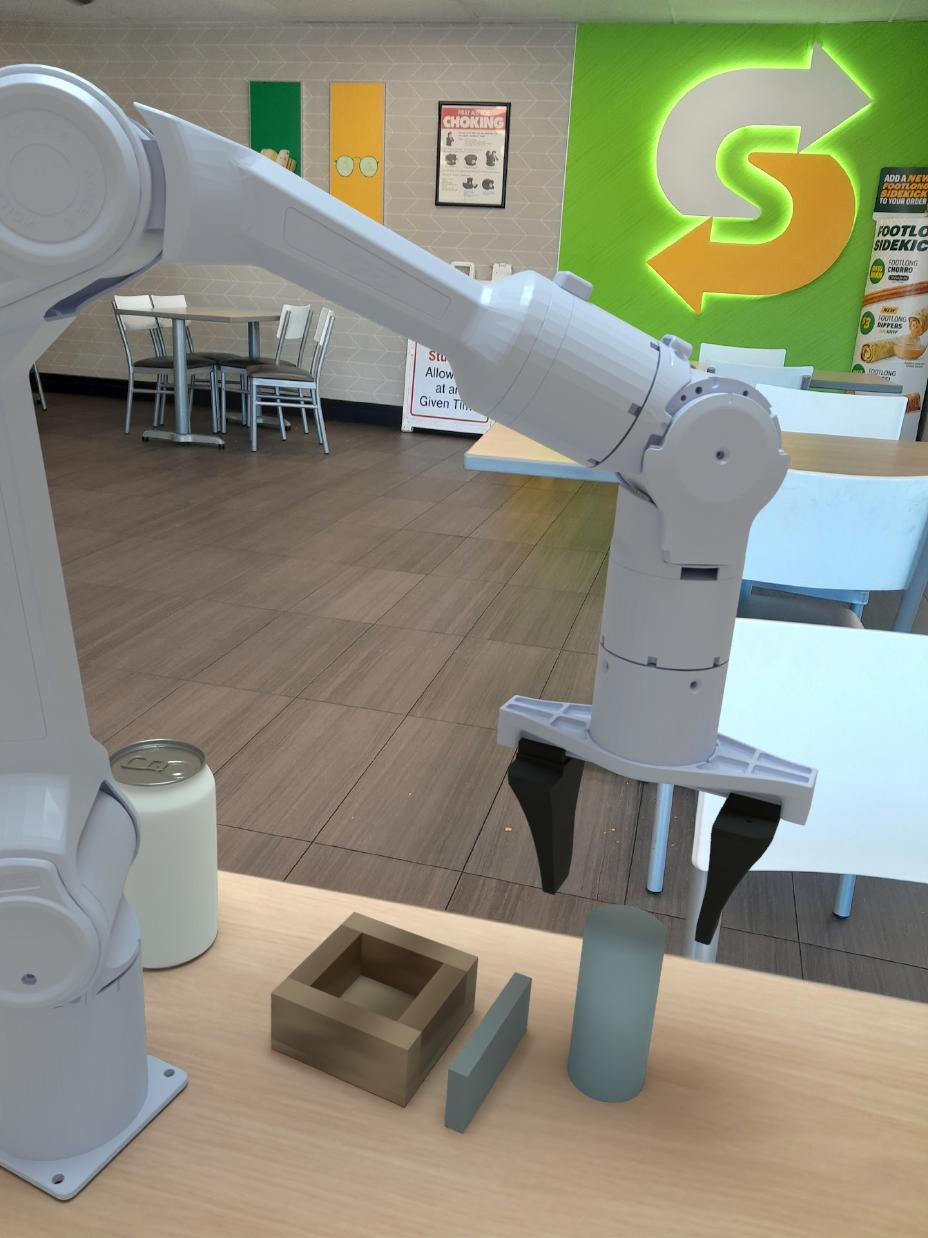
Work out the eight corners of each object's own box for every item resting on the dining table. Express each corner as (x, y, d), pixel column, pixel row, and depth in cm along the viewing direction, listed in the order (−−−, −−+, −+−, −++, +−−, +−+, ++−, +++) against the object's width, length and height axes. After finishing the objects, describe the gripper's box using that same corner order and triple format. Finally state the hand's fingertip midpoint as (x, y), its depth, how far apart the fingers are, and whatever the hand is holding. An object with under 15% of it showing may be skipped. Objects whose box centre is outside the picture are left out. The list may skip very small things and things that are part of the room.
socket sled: (271, 1048, 52) (271, 993, 51) (352, 961, 59) (354, 911, 58) (404, 1107, 49) (407, 1050, 48) (474, 1009, 56) (478, 957, 54)
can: (189, 983, 56) (182, 796, 52) (85, 962, 57) (71, 777, 53) (236, 916, 62) (233, 744, 58) (141, 899, 63) (132, 728, 60)
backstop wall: (444, 1126, 48) (448, 1069, 47) (509, 1024, 55) (514, 972, 54) (462, 1135, 47) (467, 1077, 46) (526, 1031, 54) (532, 978, 53)
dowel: (556, 1085, 51) (573, 937, 48) (582, 1036, 54) (599, 895, 51) (631, 1115, 49) (653, 965, 46) (653, 1063, 53) (675, 920, 50)
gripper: (844, 654, 45) (793, 910, 49) (545, 594, 50) (523, 829, 55) (825, 708, 39) (769, 995, 43) (487, 633, 44) (468, 893, 49)
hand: (628, 907), depth 48 cm, fingers open, 7 cm apart
